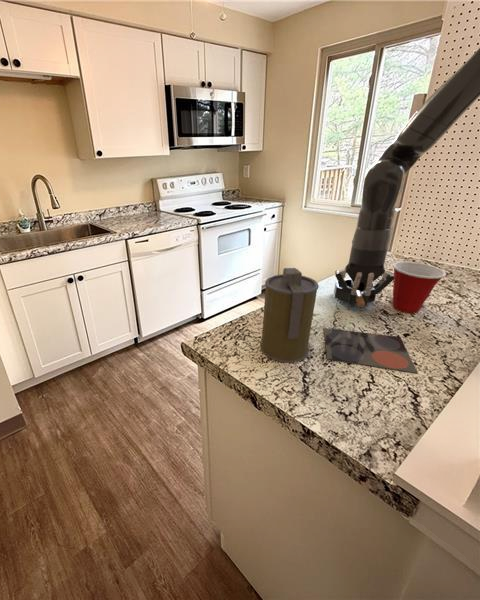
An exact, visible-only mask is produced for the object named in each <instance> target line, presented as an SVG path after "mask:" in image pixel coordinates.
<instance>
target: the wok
mask: <svg viewBox="0 0 480 600" xmlns="http://www.w3.org/2000/svg"><path fill="white" fill-rule="evenodd" d="M344 280H345V282H346V284H347V286H349V287H351V282H352V280H351V278H344ZM375 285H376V284H375V283H373V284H372V288H373V287H374V286H375ZM363 291H364V283H359V287H358V289H357V292H356V300H355V305H357V306H358V307H359V308H360V307H364V308H365V307H366V306H365V302H364V299H363V297H362V293H363ZM333 295H334V299H337V300H339V301H342V302H344V303H346V304H349V303H348V298H349V293H348V292H344V291H343V289H342V287H341V285H340V283H339V282H338V280H337V281H335V283H334V289H333ZM376 296H377V294H371V295H370V296H369V299H368V304H369V303H372V302H375V300H376Z"/></svg>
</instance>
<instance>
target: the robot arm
mask: <svg viewBox="0 0 480 600" xmlns="http://www.w3.org/2000/svg"><path fill="white" fill-rule="evenodd" d="M479 98H480V47H478V49H476V51H475V52H474V53H473V54H472V55H471V56H470V57H469V58H468V59H467V60H466V62H465V63H464V64H462V66H460V68H458V70H456V72H454V73H453V74H452V75H451V76H450V77H449V78H447V80H446V81H444V82H443V83H442V85H440V86H439V87H438V88H437V89H436V90H435V91H434V92H433V93H432V94H431V95H430V96H429V97H428V98H427V99H426V101H424V102H423V104H422V105H421V106H420V107H419V108H418V109H417V111H416V112H415V113H414V114H413V115H412V116H411V118H410V119H409V120H408V122H407V123H405V126H404V127H403V128H402V129H401V130H400V132H399V133H398V134H397V136H396V138H395V139H394V140H393V141H392V143H391V144H390V145H389V146H388V147H387V148H386V149H385V150H384V152H383V153H382V154H381V155H380V157H378V158H377V159H376V161H375V162H374V163H373V164H372V165H371V166H370V167H369V169H368V170H367V171H366V173H365V175H364V181H363V187H362V193H361V194H362V196H361V206H360V210H359V212H358V215H357V216H358V217H357V222H356V227H355V230H354V233H353V237H352V240H351V248H350V253H349V259H348V263H347V264H346V266H345V268H344V269H341V270H335V272H334V276H335V278H336V280H337V281H338V282H339V283H340V285H341V287H342V289H343V291H344V292H348V293H349V298H348V303H347V304H348V305H350V307H351V308H354V307H355V305H356V304H355V300H356V292H357V289H358V287H359V283H364V291H363V293H362V297H363V299H364V302H365V306H364V307H359V308H362V309H363V308H365V307H367V306H368V304H369V303H368V299H369V296H370V295H371V294H376V295H379V294H380V293H381V292H382V291H383V290H384V289H385V288H386V287H387V286H389V285H390V284H391V283H392V282H394V274H393V273H392V272H388V271H386V268H385V261H386V258H387V254H388V249H389V245H390V242H391V236H392V235H391V234H392V227H393V224H394V223H393V222H394V218H395V214H396V204H397V200H398V197H399V194H400V191H401V188H402V183H403V180H404V177H405V176H406V175H407V173H409V171H410V170H411V169H412V168H413V166H414V165H415V164H416V163H417V162H418V161H419V159H421V157H423V155H424V154H425V153H427V152H429V151H430V150H431V149H432V148H433V147H434V146H435V145H436V144H437V143H438V142H439V141H440V140H441V139H442V138H443V136H444V135H445V134H447V132H448V131H449V130H450V129H451V128H452V127H453V126H454V124H455V123H457V121H458V120H459V119H460V118H461V117H462V116H463V115H464V114H465V113H466V112H467V111H468V110H469V109H470V107H471V106H472V105H474V103H475V102H476V101H477V100H478V99H479ZM346 274H347V275H348V277H349V279H351V280H352V282H351V287H349V286H347V284H346V282H345V280H344V279H346ZM379 278H380V280H379V281H378V282H377V283H376V284H375V286H374V287H373V288H372V284H374V282H375V281H376V280H378V279H379Z"/></svg>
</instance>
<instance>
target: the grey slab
mask: <svg viewBox="0 0 480 600" xmlns="http://www.w3.org/2000/svg"><path fill="white" fill-rule="evenodd" d="M323 335H324V344H325V353H326V354H325V355H326V360H327V361H335V362H340V363H347V364H353V365H360V366H367V367H371V368H378V369H379V368H380V369H385V370H392V371H399V372H406V373H411V374H419V372H418V370H417V367H416V366H415V364H414V362H413V360H412V358H411V356H410V354H409V351H408V350H407V348H406V346H405V343H404V342H403V339H402V338H401V336H395V335H387V334H379V333H370V332H362V331H354V330H345V329H338V328H337V329H336V328H328V327H323Z"/></svg>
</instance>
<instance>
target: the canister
mask: <svg viewBox="0 0 480 600" xmlns="http://www.w3.org/2000/svg"><path fill="white" fill-rule="evenodd" d="M282 271H283V272H282V274H276V275H273V276H269V277H268V278H266V280H265V282H264V284H265V292H264V293H265V294H264V303H263V304H264V306H263V320H262V332H261V343H260V345H259V347H260V351H261V352H262V353H263V354H264V356H266V357H268V358H269V359H271V360H273V361H276V362H281V363H289V364H292V363H299V362H301V361H303V360H305V359H306V358H307V357H308V354H309V350H308V349H309V341H310V335H311V328H312V324H313V323H312V322H313V317H314V310H315V305H316V298H317V293H318V289H319V282H318V281H316V280H315V279H313V278H311V277H309V276H305V275H303V273H302V272H301V270H299V269H298V268H296V267H284V268H283V270H282Z"/></svg>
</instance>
